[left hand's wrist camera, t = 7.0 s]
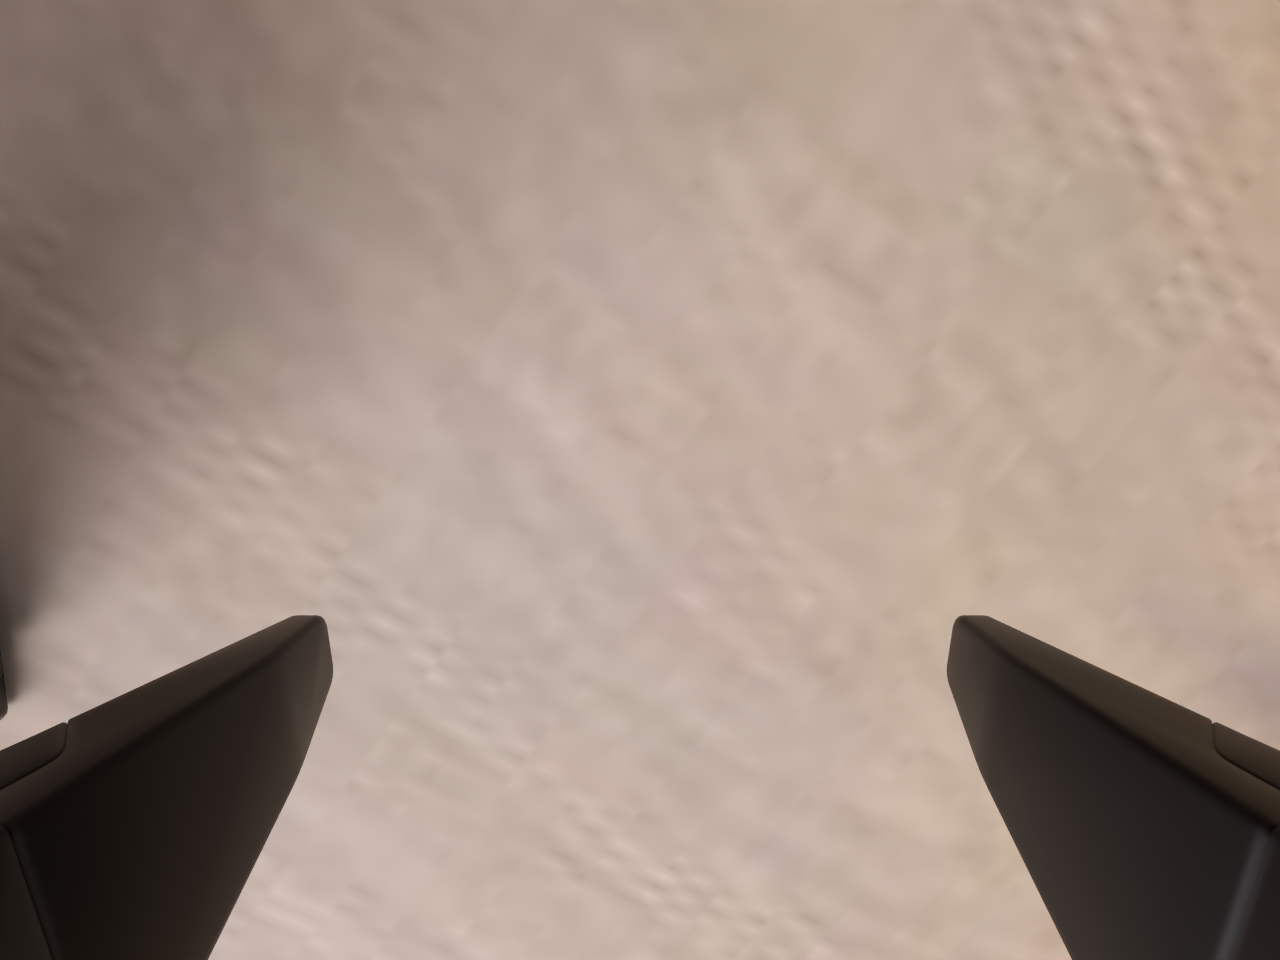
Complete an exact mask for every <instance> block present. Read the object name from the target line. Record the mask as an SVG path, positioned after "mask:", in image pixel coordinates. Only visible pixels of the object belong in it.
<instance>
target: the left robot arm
mask: <svg viewBox="0 0 1280 960" xmlns="http://www.w3.org/2000/svg"><path fill="white" fill-rule="evenodd" d="M332 677H333V663H332V656H331V650H330V643H329V637H328V630H327V625H326V622H325V620H324V619H323V618H322V617H321V616H317V615H297V616H292V617H289V618H287V619H285V620H283V621H281V622H279V623H276V624H274V625H272V626H270V627H268V628H266V629H263V630H261V631H259V632H257V633H255V634H253V635H250V636H248V637H246V638H244V639H242V640H240V641H238V642H235V643H233V644H231V645H229V646H227V647H225V648H222V649H220V650H218V651H216V652H214V653H212V654H209V655H207V656H205V657H203V658H201V659H199V660H197V661H194V662H192V663H190V664H188V665H186V666H184V667H181V668H179V669H177V670H175V671H173V672H171V673H168V674H166V675H164V676H162V677H160V678H158V679H156V680H153V681H151V682H149V683H147V684H145V685H143V686H140V687H138V688H136V689H134V690H132V691H130V692H128V693H125V694H123V695H121V696H119V697H117V698H115V699H112V700H110V701H108V702H106V703H104V704H102V705H99V706H97V707H95V708H93V709H91V710H89V711H87V712H84V713H82V714H80V715H78V716H76V717H74V718H71V719H70V720H69V721H68V724H67V723H65V722H63V723H60V724H58V725H56V726H54V727H52V728H50V729H47V730H45V731H43V732H41V733H39V734H37V735H34V736H32V737H30V738H28V739H26V740H23V741H21V742H19V743H17V744H14V745H12V746H10V747H8V748H5V749H3V750H1V751H0V960H208V958H209V956H210V954H211V952H212V950H213V948H214V946H215V944H216V942H217V940H218V938H219V936H220V934H221V932H222V930H223V928H224V926H225V924H226V922H227V920H228V918H229V916H230V914H231V912H232V910H233V908H234V905H235V903H236V901H237V899H238V897H239V895H240V893H241V891H242V889H243V887H244V885H245V883H246V881H247V879H248V877H249V875H250V873H251V871H252V869H253V867H254V865H255V863H256V861H257V859H258V857H259V855H260V853H261V851H262V849H263V846H264V844H265V842H266V840H267V838H268V836H269V834H270V832H271V830H272V828H273V826H274V824H275V822H276V820H277V818H278V816H279V814H280V812H281V810H282V808H283V806H284V804H285V802H286V800H287V798H288V796H289V794H290V792H291V790H292V787H293V785H294V783H295V781H296V779H297V777H298V774H299V772H300V770H301V767H302V764H303V762H304V759H305V756H306V754H307V751H308V748H309V745H310V742H311V739H312V737H313V734H314V731H315V728H316V725H317V722H318V720H319V717H320V714H321V711H322V708H323V705H324V703H325V700H326V697H327V694H328V691H329V688H330V686H331V682H332ZM947 677H948V682H949V686H950V688H951V691H952V694H953V697H954V700H955V703H956V705H957V708H958V711H959V714H960V717H961V720H962V722H963V725H964V728H965V731H966V734H967V737H968V739H969V742H970V745H971V748H972V751H973V754H974V756H975V759H976V762H977V764H978V767H979V770H980V772H981V774H982V777H983V779H984V781H985V783H986V785H987V787H988V790H989V792H990V794H991V796H992V798H993V800H994V802H995V804H996V806H997V808H998V810H999V812H1000V814H1001V816H1002V818H1003V820H1004V822H1005V824H1006V826H1007V828H1008V830H1009V832H1010V834H1011V836H1012V838H1013V840H1014V842H1015V844H1016V846H1017V849H1018V851H1019V853H1020V855H1021V857H1022V859H1023V861H1024V863H1025V865H1026V867H1027V869H1028V871H1029V873H1030V875H1031V877H1032V879H1033V881H1034V883H1035V885H1036V887H1037V889H1038V891H1039V893H1040V895H1041V897H1042V899H1043V901H1044V903H1045V905H1046V908H1047V910H1048V912H1049V914H1050V916H1051V918H1052V920H1053V922H1054V924H1055V926H1056V928H1057V930H1058V932H1059V934H1060V936H1061V938H1062V940H1063V942H1064V944H1065V946H1066V948H1067V950H1068V952H1069V954H1070V956H1071V958H1072V960H1280V751H1279V750H1277V749H1275V748H1272V747H1270V746H1268V745H1266V744H1263V743H1261V742H1259V741H1257V740H1254V739H1252V738H1250V737H1248V736H1246V735H1243V734H1241V733H1239V732H1237V731H1235V730H1233V729H1230V728H1228V727H1226V726H1224V725H1222V724H1220V723H1217V722H1215V723H1213V724H1212V721H1211V720H1210V719H1209V718H1206V717H1204V716H1202V715H1200V714H1198V713H1196V712H1193V711H1191V710H1189V709H1187V708H1185V707H1183V706H1181V705H1178V704H1176V703H1174V702H1172V701H1170V700H1168V699H1165V698H1163V697H1161V696H1159V695H1157V694H1155V693H1152V692H1150V691H1148V690H1146V689H1144V688H1142V687H1140V686H1137V685H1135V684H1133V683H1131V682H1129V681H1127V680H1124V679H1122V678H1120V677H1118V676H1116V675H1114V674H1112V673H1109V672H1107V671H1105V670H1103V669H1101V668H1099V667H1096V666H1094V665H1092V664H1090V663H1088V662H1086V661H1083V660H1081V659H1079V658H1077V657H1075V656H1073V655H1071V654H1068V653H1066V652H1064V651H1062V650H1060V649H1058V648H1055V647H1053V646H1051V645H1049V644H1047V643H1045V642H1042V641H1040V640H1038V639H1036V638H1034V637H1032V636H1030V635H1027V634H1025V633H1023V632H1021V631H1019V630H1017V629H1014V628H1012V627H1010V626H1008V625H1006V624H1004V623H1001V622H999V621H997V620H995V619H993V618H991V617H988V616H983V615H963V616H959V617H958V618H957V619H956V620H955V622H954V625H953V630H952V637H951V643H950V650H949V656H948V663H947ZM7 709H8V706H7V698H6V691H5V683H4V675H3V668H2V660H1V652H0V720H1V719H2V718H3V717H4V716H5V715H6V714H7Z"/></svg>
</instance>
